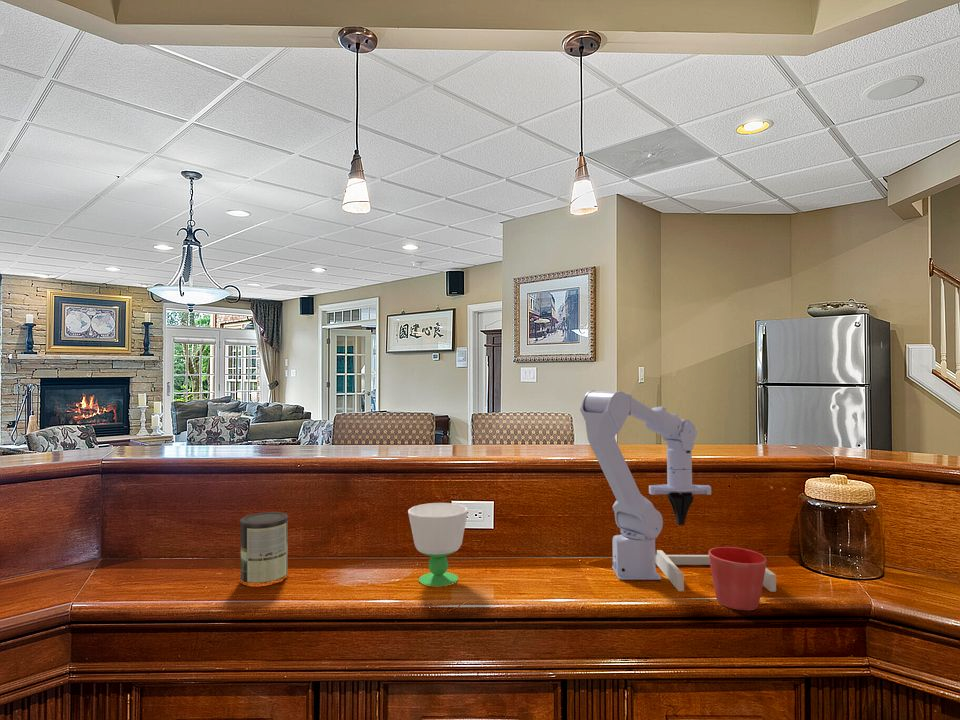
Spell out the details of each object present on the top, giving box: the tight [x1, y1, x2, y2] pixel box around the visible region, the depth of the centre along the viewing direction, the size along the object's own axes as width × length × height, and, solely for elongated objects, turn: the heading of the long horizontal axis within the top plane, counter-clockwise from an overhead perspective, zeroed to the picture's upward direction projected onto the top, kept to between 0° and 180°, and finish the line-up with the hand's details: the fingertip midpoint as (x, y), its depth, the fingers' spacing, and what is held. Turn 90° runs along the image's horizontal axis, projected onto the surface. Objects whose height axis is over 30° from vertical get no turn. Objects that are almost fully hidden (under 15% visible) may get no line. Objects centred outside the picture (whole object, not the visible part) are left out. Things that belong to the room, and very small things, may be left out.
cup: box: [407, 502, 469, 587], centre depth 128 cm, size 14×14×16 cm
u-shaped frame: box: [655, 549, 777, 593], centre depth 129 cm, size 20×18×4 cm
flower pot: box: [708, 546, 768, 611], centre depth 114 cm, size 11×11×10 cm
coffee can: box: [239, 511, 289, 583], centre depth 130 cm, size 10×10×14 cm
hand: (680, 523), depth 138 cm, fingers closed
